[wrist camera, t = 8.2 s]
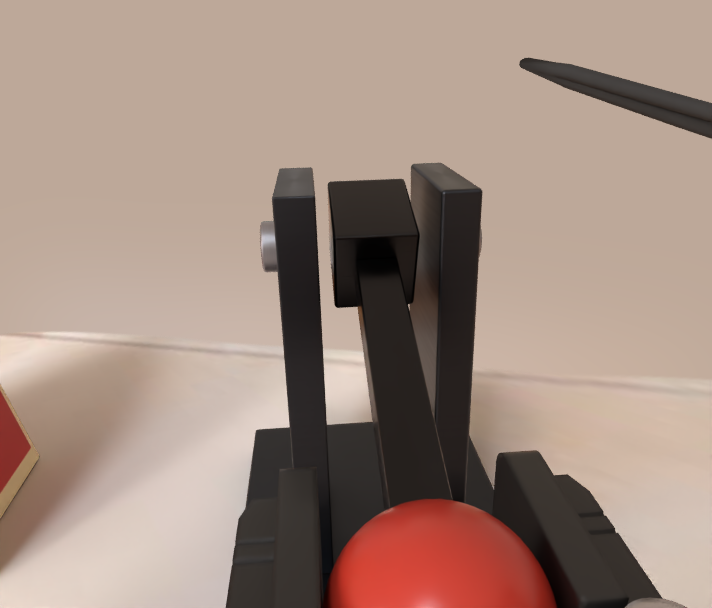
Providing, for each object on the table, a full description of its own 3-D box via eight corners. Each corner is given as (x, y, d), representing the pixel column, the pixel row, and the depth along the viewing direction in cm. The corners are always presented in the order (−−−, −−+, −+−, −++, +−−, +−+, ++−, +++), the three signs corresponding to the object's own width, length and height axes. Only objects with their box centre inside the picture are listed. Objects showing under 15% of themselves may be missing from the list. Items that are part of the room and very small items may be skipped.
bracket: (573, 705, 15) (653, 223, 11) (223, 740, 15) (141, 247, 10) (459, 438, 26) (473, 145, 22) (258, 452, 26) (227, 154, 21)
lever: (564, 781, 9) (642, 716, 7) (329, 808, 9) (321, 749, 6) (420, 259, 19) (430, 157, 16) (307, 265, 19) (301, 161, 16)
